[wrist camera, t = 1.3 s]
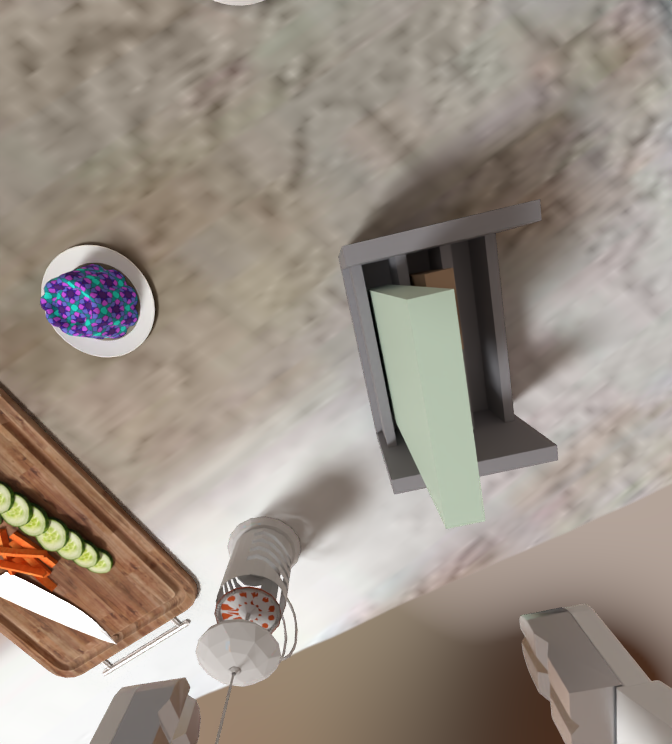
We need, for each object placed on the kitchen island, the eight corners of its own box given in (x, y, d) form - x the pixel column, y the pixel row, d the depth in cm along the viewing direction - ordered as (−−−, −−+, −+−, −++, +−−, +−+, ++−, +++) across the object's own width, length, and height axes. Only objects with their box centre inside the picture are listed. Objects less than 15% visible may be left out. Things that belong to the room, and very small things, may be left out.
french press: (265, 503, 45) (191, 761, 21) (324, 558, 47) (319, 848, 23) (212, 545, 47) (85, 832, 22) (272, 597, 49) (216, 907, 25)
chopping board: (220, 601, 50) (213, 622, 47) (84, 684, 53) (69, 708, 50) (-34, 347, 40) (-64, 352, 37) (-181, 469, 43) (-218, 483, 40)
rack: (338, 256, 38) (342, 246, 26) (476, 223, 37) (540, 199, 26) (377, 439, 43) (394, 494, 32) (498, 413, 42) (558, 460, 31)
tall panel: (366, 289, 37) (407, 299, 18) (388, 284, 37) (453, 288, 18) (390, 410, 41) (446, 528, 21) (410, 405, 40) (485, 521, 21)
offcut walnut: (404, 275, 37) (424, 274, 29) (426, 270, 37) (453, 267, 29) (415, 339, 38) (437, 354, 31) (436, 334, 38) (464, 348, 31)
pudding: (178, 292, 38) (155, 293, 33) (125, 376, 41) (96, 389, 36) (78, 221, 36) (37, 211, 31) (28, 313, 39) (-18, 318, 34)
